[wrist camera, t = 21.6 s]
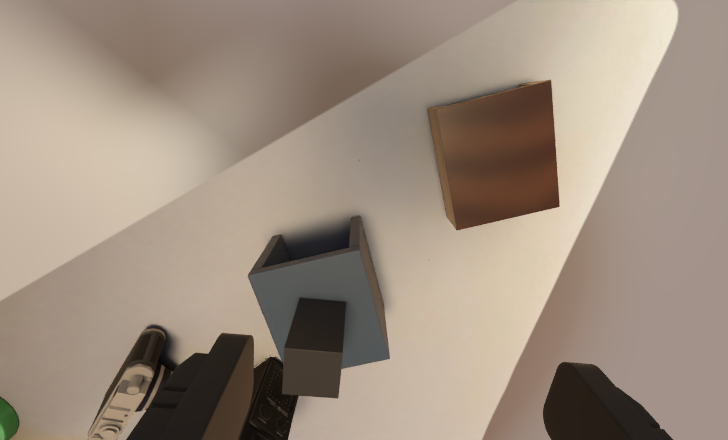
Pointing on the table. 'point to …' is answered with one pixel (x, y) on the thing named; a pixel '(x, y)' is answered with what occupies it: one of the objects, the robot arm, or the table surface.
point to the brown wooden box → (497, 155)
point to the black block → (314, 349)
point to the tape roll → (7, 420)
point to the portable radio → (268, 405)
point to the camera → (132, 386)
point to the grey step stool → (325, 293)
